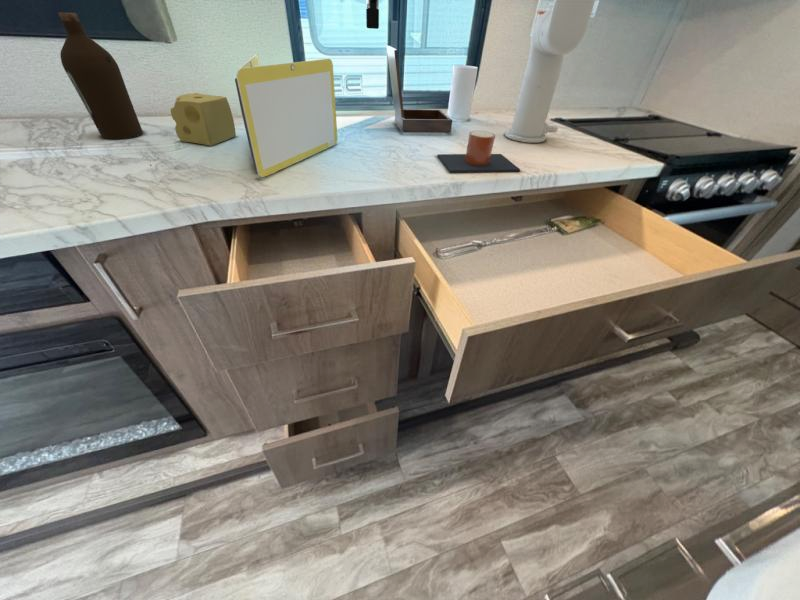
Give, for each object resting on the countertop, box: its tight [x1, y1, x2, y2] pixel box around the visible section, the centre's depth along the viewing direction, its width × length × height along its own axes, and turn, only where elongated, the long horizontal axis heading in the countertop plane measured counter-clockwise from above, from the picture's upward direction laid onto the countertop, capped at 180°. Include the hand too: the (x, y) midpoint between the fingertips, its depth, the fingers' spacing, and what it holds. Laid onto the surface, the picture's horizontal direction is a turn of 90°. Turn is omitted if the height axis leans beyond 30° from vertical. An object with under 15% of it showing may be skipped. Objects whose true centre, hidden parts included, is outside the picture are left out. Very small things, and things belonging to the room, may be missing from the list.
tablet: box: [234, 53, 338, 178], centre depth 78 cm, size 35×22×20 cm, turn 14°
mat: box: [437, 153, 521, 174], centre depth 85 cm, size 18×12×1 cm, turn 100°
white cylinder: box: [446, 64, 478, 121], centre depth 117 cm, size 8×8×16 cm
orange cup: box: [465, 130, 496, 166], centre depth 83 cm, size 6×6×7 cm
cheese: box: [170, 92, 237, 147], centre depth 87 cm, size 10×11×10 cm
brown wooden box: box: [394, 108, 453, 134], centre depth 108 cm, size 16×15×4 cm
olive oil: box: [57, 12, 144, 140], centre depth 82 cm, size 11×11×25 cm
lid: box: [386, 45, 404, 118], centre depth 100 cm, size 16×15×1 cm
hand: (372, 28), depth 91 cm, fingers closed
